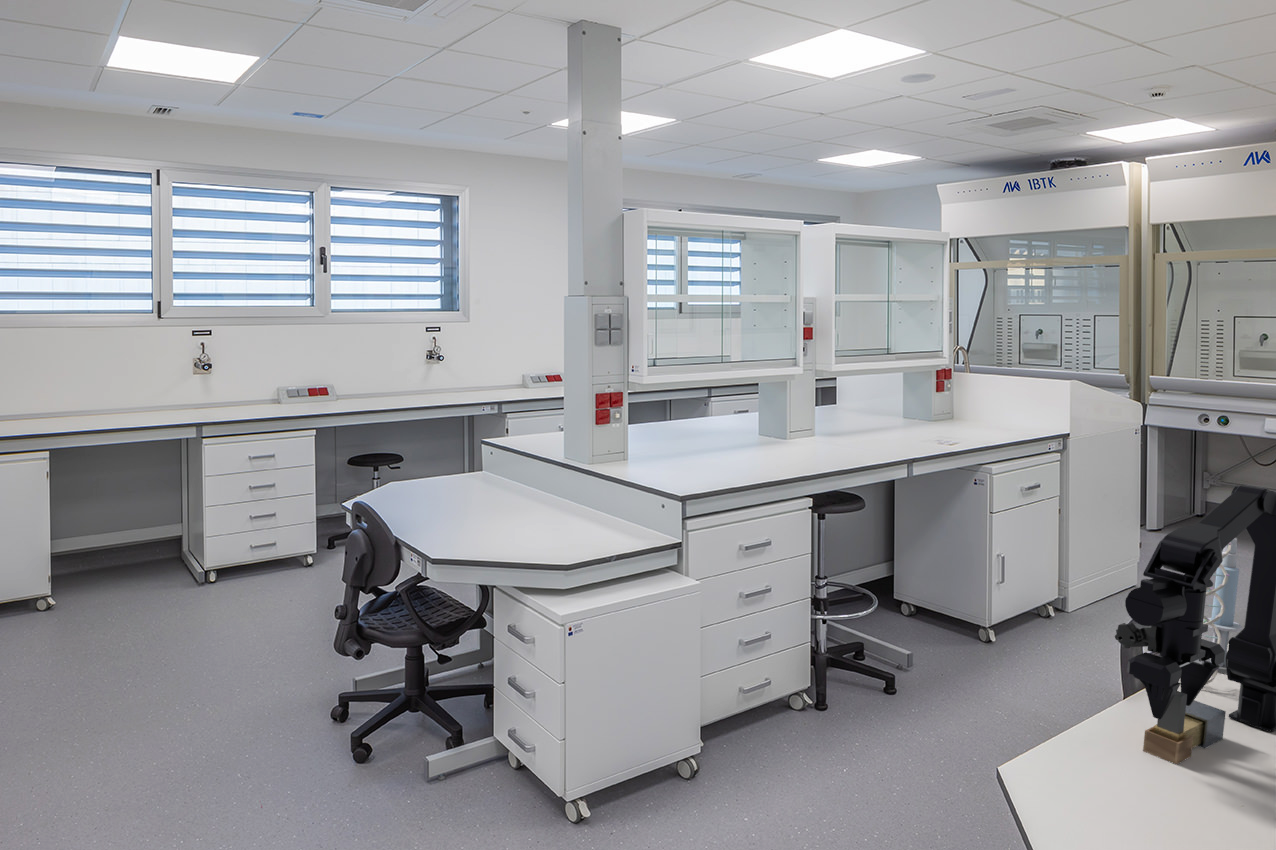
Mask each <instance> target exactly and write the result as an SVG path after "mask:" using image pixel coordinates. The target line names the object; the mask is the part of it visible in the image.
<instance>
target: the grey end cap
mask: <svg viewBox="0 0 1276 850" xmlns="http://www.w3.org/2000/svg"><path fill="white" fill-rule="evenodd" d="M1226 712H1227V711H1226V710H1223V709H1220V708H1217V707H1214V706H1211V705H1208V704H1206V703H1203V702H1200V701H1198V700H1195V699H1194V701H1193V702H1192V703H1191V705H1190V706H1187V705H1186V711H1185V714H1186V715H1189V716H1192V717H1195V718H1198V719H1200V720H1203V721H1206V722H1205V731H1204V740H1203V743H1201V744H1199V745H1198V746H1197V747H1199V748H1202V749H1207V748H1209V747H1210V746H1212V745H1214V744H1216V743H1218V742H1220V741H1221V740H1223V739H1224V732H1225V731H1224V729H1225V721H1226Z"/></svg>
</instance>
